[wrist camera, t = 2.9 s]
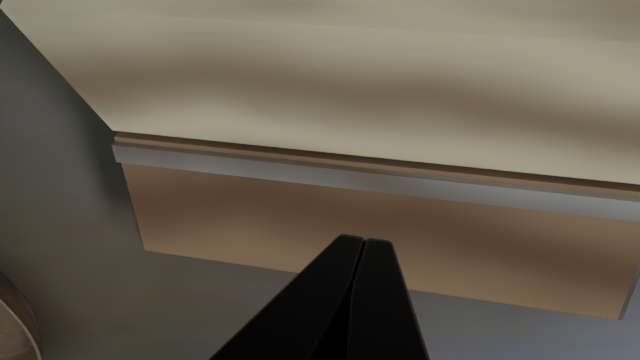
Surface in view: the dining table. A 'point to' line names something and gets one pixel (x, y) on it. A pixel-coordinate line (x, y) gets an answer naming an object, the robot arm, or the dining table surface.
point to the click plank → (364, 76)
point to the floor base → (391, 219)
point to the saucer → (17, 326)
